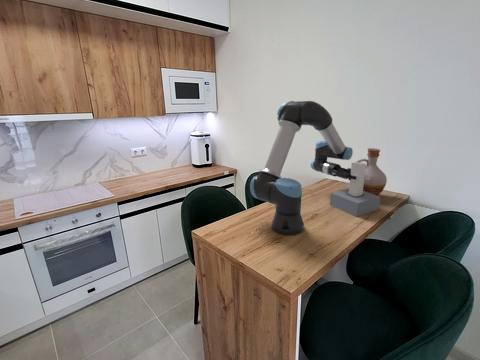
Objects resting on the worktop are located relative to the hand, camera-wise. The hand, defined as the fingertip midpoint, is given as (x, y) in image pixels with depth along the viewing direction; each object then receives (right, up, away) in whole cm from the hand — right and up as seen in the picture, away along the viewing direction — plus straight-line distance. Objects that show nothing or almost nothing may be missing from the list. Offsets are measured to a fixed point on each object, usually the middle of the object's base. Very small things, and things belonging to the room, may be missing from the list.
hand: (365, 178), depth 132 cm
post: (-2, -9, +8) cm, 12 cm away
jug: (+13, -11, +25) cm, 31 cm away
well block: (-2, -16, +10) cm, 19 cm away
